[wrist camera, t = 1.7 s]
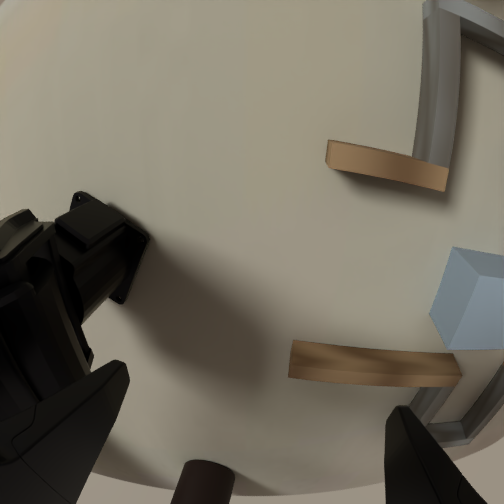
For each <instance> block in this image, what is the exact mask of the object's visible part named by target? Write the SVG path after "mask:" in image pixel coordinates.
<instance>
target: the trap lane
mask: <svg viewBox="0 0 504 504" xmlns="http://www.w3.org/2000/svg"><path fill="white" fill-rule="evenodd" d="M460 34H461V35H463V36H465V37H467V38H470V39H472V40H474V41H476V42H478V43H480V44H482V45H485V46H487V47H489V48H490V49H492V50H494V51H496V52H498V53H500V54H502V55H504V21H503V20H501V19H499V18H498V17H496V16H494V15H492V14H490V13H488V12H486V11H485V10H483V9H481V8H479V7H477V6H475V5H472V4H470V3H468V2H466V1H464V0H426V1H425V2H424V3H423V54H422V74H421V87H420V99H419V109H418V117H417V125H416V133H415V140H414V147H413V153H412V157H411V156H407V155H403V154H399V153H395V152H390V151H386V150H381V149H376V148H372V147H367V146H362V145H356V144H351V143H345V142H340V141H334V140H328V144H327V152H326V159H325V162H326V164H327V165H328V167H329V168H332V169H338V170H344V171H349V172H355V173H360V174H366V175H371V176H376V177H381V178H386V179H391V180H395V181H400V182H405V183H409V184H413V185H418V186H422V187H426V188H430V189H434V190H438V191H442V192H444V191H445V187H446V182H447V177H448V172H449V166H450V161H451V155H452V149H453V142H454V135H455V128H456V119H457V110H458V99H459V85H460V60H461V36H460ZM288 377H289V378H297V379H305V380H313V381H322V382H332V383H344V384H356V385H372V386H395V387H421V388H420V390H419V392H418V393H417V395H416V396H415V398H414V399H413V401H412V402H411V404H410V405H409V407H410V409H411V410H412V411H413V412H414V414H415V415H416V416H417V417H418V419H419V420H420V421H421V422H422V424H423V425H424V426H425V427H426V429H427V430H428V431H429V432H430V434H431V435H432V436H433V437H434V439H435V440H436V441H437V442H438V444H439V445H440V446H441V447H442V448H447V447H454V446H461V445H467V444H469V443H470V442H471V441H472V440H473V439H474V438H475V437H476V436H477V435H478V434H479V432H480V431H481V430H482V429H483V428H484V427H485V426H486V425H487V423H488V422H489V421H490V420H491V419H492V418H493V416H494V415H495V414H496V413H497V412H498V410H499V409H500V408H501V407H502V405H503V404H504V362H503V364H502V365H501V367H500V369H499V370H498V372H497V373H496V375H495V376H494V378H493V379H492V381H491V382H490V383H489V385H488V386H487V388H486V389H485V391H484V392H483V393H482V395H481V396H480V397H479V399H478V400H477V401H476V403H475V404H474V405H473V407H472V408H471V409H470V410H469V412H468V413H467V414H466V415H465V417H464V418H463V419H462V420H461V421H460V422H449V423H437V424H428V423H429V422H430V421H431V419H432V418H433V417H434V415H435V414H436V413H437V411H438V410H439V409H440V407H441V406H442V405H443V403H444V402H445V400H446V399H447V398H448V396H449V395H450V393H451V392H452V390H453V389H454V388H455V386H456V385H457V383H458V382H459V380H460V378H461V377H462V373H461V371H460V369H459V366H458V364H457V362H456V360H455V358H454V356H453V354H446V353H422V352H405V351H390V350H378V349H366V348H356V347H346V346H337V345H328V344H320V343H312V342H304V341H297V340H293V344H292V348H291V353H290V363H289V373H288Z"/></svg>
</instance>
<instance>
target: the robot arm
mask: <svg viewBox="0 0 504 504" xmlns="http://www.w3.org/2000/svg"><path fill="white" fill-rule="evenodd" d="M79 197H80V199H81V201H80V200H79ZM140 237H142V238H143V240H144V242H143V241H141V240H140ZM149 241H150V238H149V235H148V234H147V233H146V232H145V231H144V230H142V229H140V228H139V227H137V226H136V225H134V224H132V223H131V222H129V221H128V220H126V219H125V218H124V217H123V216H122V215H121V214H119V213H118V212H116V211H114V210H113V209H111V208H110V207H108V206H107V205H105V204H104V203H102V202H101V201H99V200H97V199H94V198H92V197H91V196H89V195H88V194H86V193H85V192H83V191H78V192H76V193H75V194H74V195H73V198H72V202H71V206H70V210H69V212H67V213H65V214H63V215H61V216H59V217H57V218H56V219H55V222H38V218H36V217H35V216H34V215H33V214H32V212H31V211H30V210H29V209H22V210H20V211H18V212H16V213H14V214H12V215H10V216H8V217H6V218H4V219H2V220H1V221H0V504H76V502H77V500H78V498H79V496H80V494H81V491H82V489H83V487H84V485H85V483H86V481H87V478H88V476H89V474H90V472H91V470H92V468H93V466H94V464H95V462H96V460H97V458H98V456H99V453H100V451H101V449H102V447H103V445H104V443H105V441H106V439H107V437H108V435H109V433H110V431H111V429H112V427H113V425H114V423H115V421H116V419H117V416H118V413H119V411H120V408H121V405H122V402H123V400H124V397H125V394H126V391H127V389H128V386H129V383H130V377H129V374H128V370H127V366H126V364H125V363H124V362H122V361H119V360H112V361H111V362H109V363H107V364H105V365H104V366H102V367H100V368H98V369H97V370H95V371H93V372H92V373H91V371H90V369H91V365H92V362H93V358H94V354H93V352H92V349H91V348H89V346H88V343H87V341H86V338H85V335H84V333H83V330H82V327H81V325H82V324H83V323H84V322H85V321H86V320H87V319H88V318H89V317H90V316H91V314H92V313H93V312H94V311H95V310H96V309H97V308H98V307H99V306H100V305H101V304H102V303H103V302H104V301H105V300H106V299H107V298H108V297H109V298H110V299H112V300H113V301H115V302H116V303H118V304H121V305H122V304H124V302H125V301H126V300H127V297H128V295H129V292H130V289H131V287H132V284H133V281H134V279H135V276H136V274H137V271H138V269H139V266H140V263H141V261H142V259H143V256H144V254H145V251H146V249H147V246H148V244H149ZM119 296H120V297H121V298H120V297H119ZM384 471H385V491H386V492H385V493H386V504H487V502H486V501H485V500H484V499H483V498H482V497H481V496H480V495H479V494H478V493H477V492H476V491H475V489H474V488H473V487H472V486H471V485H470V483H469V482H468V481H467V480H466V478H465V477H464V476H463V475H462V473H461V472H460V471H459V469H458V468H457V467H456V465H455V464H454V463H453V462H452V460H451V459H450V458H449V456H448V455H447V454H446V453H445V451H444V450H443V449H442V447H441V446H440V445H439V444H438V442H437V441H436V440H435V439H434V437H433V436H432V435H431V434H430V432H429V431H428V430H427V429H426V427H425V426H424V425H423V424H422V422H421V421H420V420H419V419H418V417H417V416H416V415H415V414H414V412H413V411H412V410H411V409H410V407H408V406H406V405H398V406H396V407H395V408H394V410H393V411H392V413H391V414H390V416H389V417H388V419H387V421H386V427H385V455H384Z"/></svg>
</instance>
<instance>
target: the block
mask: <svg viewBox="0 0 504 504" xmlns="http://www.w3.org/2000/svg"><path fill="white" fill-rule="evenodd" d="M429 314H430V316H431V318H432V320H433V322H434V324H435V326H436V328H437V330H438V332H439V334H440V336H441V338H442V340H443V342H444V344H445V346H446V348H447V350H492V349H504V256H502V255H496V254H491V253H486V252H480V251H475V250H469V249H463V248H458V247H452V250H451V253H450V256H449V259H448V263H447V266H446V269H445V272H444V275H443V278H442V281H441V283H440V286H439V289H438V292H437V295H436V297H435V300H434V302H433V305H432V308H431V310H430V313H429Z"/></svg>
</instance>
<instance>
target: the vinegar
mask: <svg viewBox="0 0 504 504" xmlns="http://www.w3.org/2000/svg"><path fill="white" fill-rule="evenodd" d="M234 481H235V475H234V474H233V473H232V471H231V470H229V469H228V468H226V467H224V466H222V465H219V464H216V463H213V462H209V461H204V460H191V461H188V462H186V463H185V465H184V467H183V470H182V473H181V476H180V478H179V481H178V484H177V487H176V490H175V492H174V495H173V498H172V501H171V504H229V502H230V498H231V494H232V490H233V485H234Z"/></svg>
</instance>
